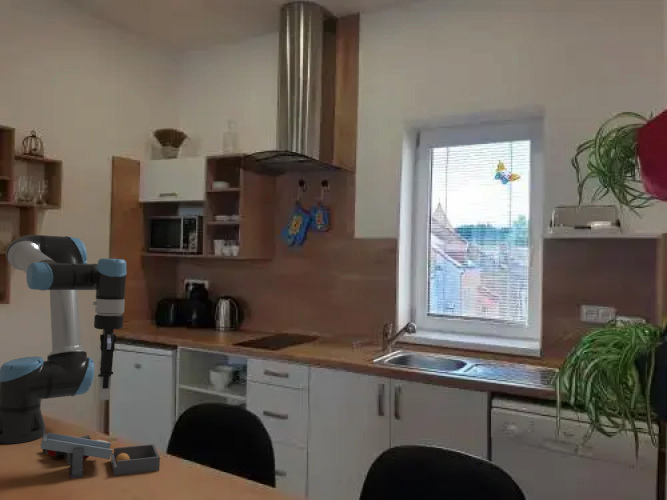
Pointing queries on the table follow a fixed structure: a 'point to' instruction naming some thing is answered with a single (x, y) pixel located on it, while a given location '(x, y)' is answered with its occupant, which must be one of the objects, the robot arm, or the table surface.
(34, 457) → the table surface
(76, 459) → the stand
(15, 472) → the table surface
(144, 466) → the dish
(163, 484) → the table surface
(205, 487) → the table surface
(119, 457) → the ball
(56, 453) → the toy
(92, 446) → the rimmed blue-grey trough
